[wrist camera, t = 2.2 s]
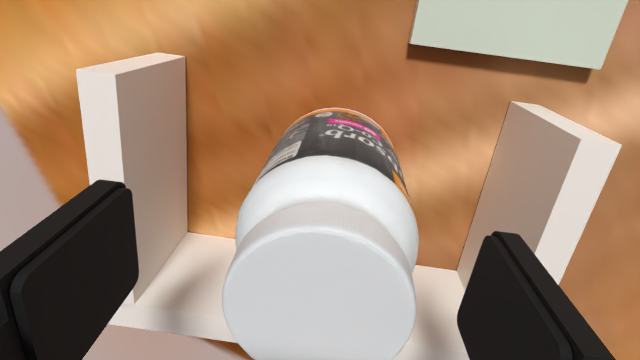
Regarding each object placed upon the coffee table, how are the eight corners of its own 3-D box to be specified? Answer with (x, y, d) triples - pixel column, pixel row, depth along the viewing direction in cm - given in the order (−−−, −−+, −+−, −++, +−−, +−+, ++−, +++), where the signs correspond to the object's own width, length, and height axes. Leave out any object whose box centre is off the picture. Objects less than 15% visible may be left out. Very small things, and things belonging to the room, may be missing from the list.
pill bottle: (421, 153, 18) (498, 299, 9) (346, 238, 20) (343, 430, 11) (320, 78, 17) (286, 153, 8) (251, 176, 19) (159, 328, 10)
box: (473, 292, 21) (513, 383, 16) (165, 248, 21) (106, 323, 16) (538, 104, 17) (621, 144, 12) (158, 52, 17) (75, 69, 12)
